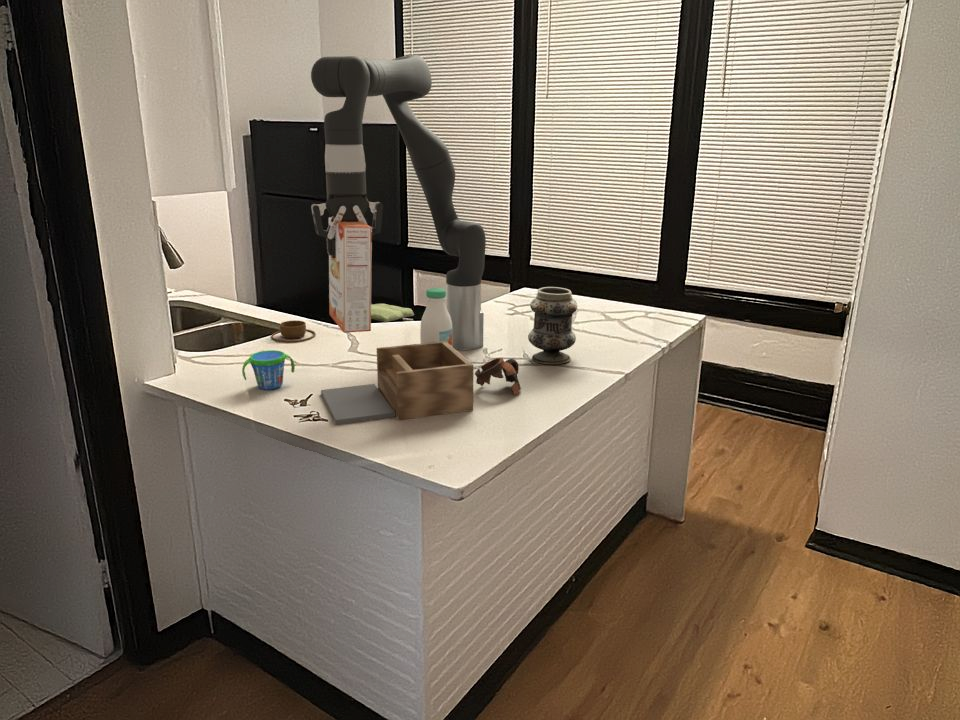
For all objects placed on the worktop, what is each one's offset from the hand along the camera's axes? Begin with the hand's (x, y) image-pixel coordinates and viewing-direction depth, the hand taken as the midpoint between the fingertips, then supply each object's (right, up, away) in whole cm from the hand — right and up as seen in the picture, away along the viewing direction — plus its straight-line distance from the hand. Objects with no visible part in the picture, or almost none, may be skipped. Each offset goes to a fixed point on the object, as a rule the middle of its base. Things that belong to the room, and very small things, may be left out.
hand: (349, 256), depth 143 cm
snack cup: (-22, -27, +20) cm, 40 cm away
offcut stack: (+9, -30, +12) cm, 33 cm away
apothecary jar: (+44, -21, +41) cm, 64 cm away
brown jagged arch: (+33, -28, +20) cm, 48 cm away
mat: (0, -30, +10) cm, 32 cm away
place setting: (-30, -15, +58) cm, 67 cm away
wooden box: (+13, -29, +13) cm, 35 cm away
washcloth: (-5, -8, +81) cm, 81 cm away
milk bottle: (+15, -23, +32) cm, 42 cm away
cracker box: (-1, -13, +4) cm, 14 cm away
